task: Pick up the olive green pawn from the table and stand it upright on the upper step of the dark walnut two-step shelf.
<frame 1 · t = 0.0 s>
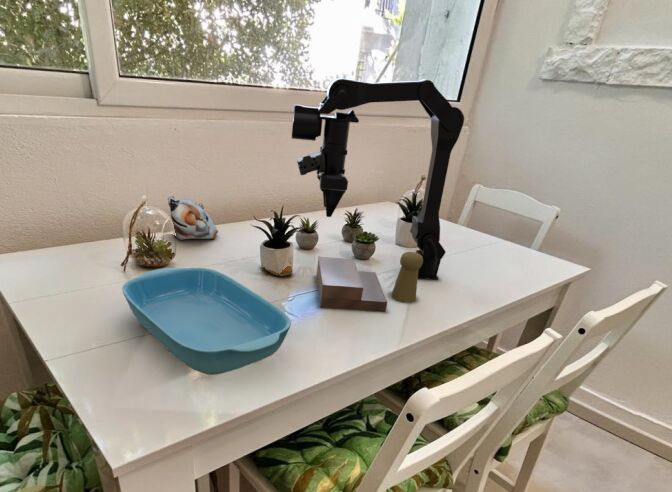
hand: (327, 211, 116), 15 cm above the table, tool pointing down, fingers open, 9 cm apart
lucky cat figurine: (194, 238, 136), on the table
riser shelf: (348, 293, 112), on the table
casserole dish: (205, 335, 90), on the table
pastry: (277, 270, 120), on the table
olive green pawn: (403, 298, 113), on the table
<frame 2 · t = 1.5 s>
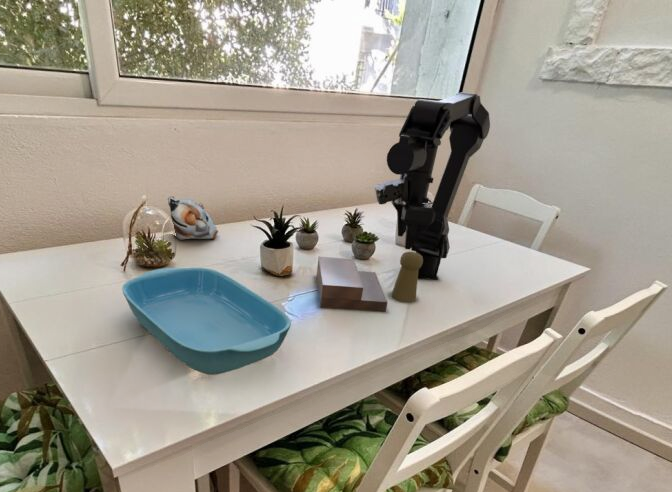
hand: (403, 242, 107), 13 cm above the table, tool pointing down, fingers open, 9 cm apart
nothing on the table moved.
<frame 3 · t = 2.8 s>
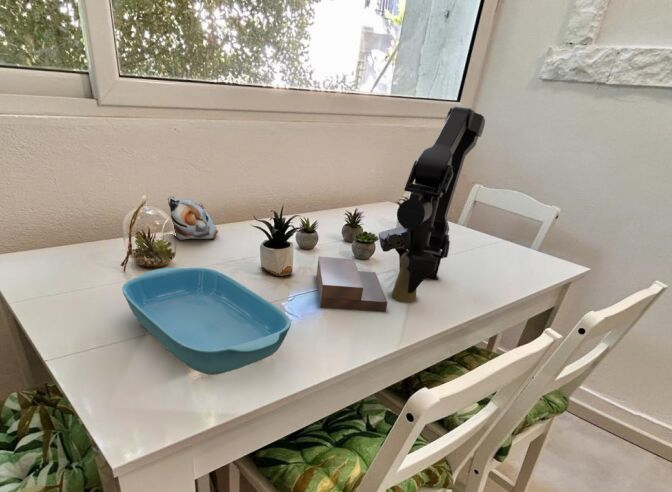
hand: (405, 285, 111), 3 cm above the table, tool pointing down
olive green pawn: (403, 298, 113), on the table, touching gripper
everything else where it was.
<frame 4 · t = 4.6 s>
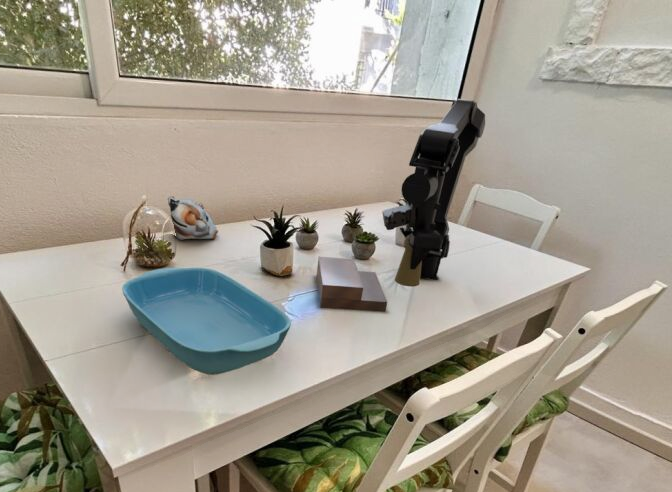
hand: (410, 265, 108), 8 cm above the table, tool pointing down, fingers closed on olive green pawn, 4 cm apart
olive green pawn: (407, 282, 110), point 4 cm above the table, touching gripper
everything else where it was.
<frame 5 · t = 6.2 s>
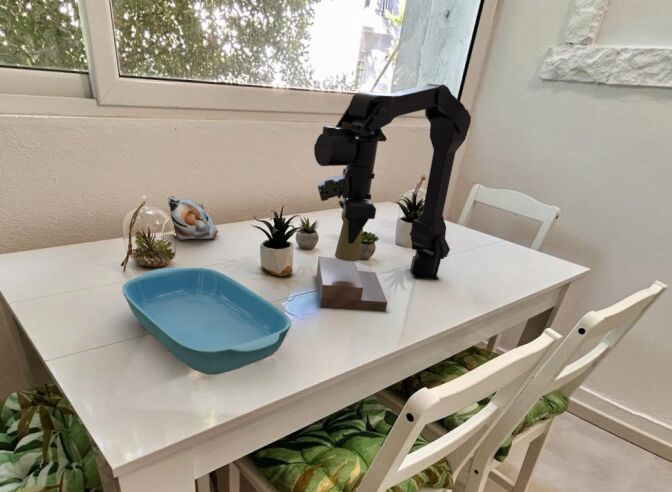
hand: (349, 239, 104), 13 cm above the table, tool pointing down, fingers closed on olive green pawn, 4 cm apart
olive green pawn: (347, 257, 106), point 9 cm above the table, touching gripper
everything else where it was.
when the fingers open (9 cm above the table, at t = 7.8 s): olive green pawn stays where it is, resting on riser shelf.
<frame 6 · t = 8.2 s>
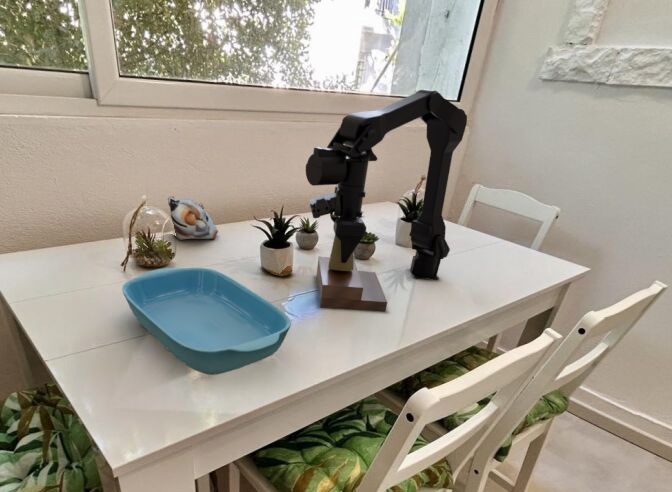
hand: (341, 255, 106), 9 cm above the table, tool pointing down, fingers open, 9 cm apart
olive green pawn: (340, 269, 108), point 6 cm above the table, touching gripper, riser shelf
everything else where it was.
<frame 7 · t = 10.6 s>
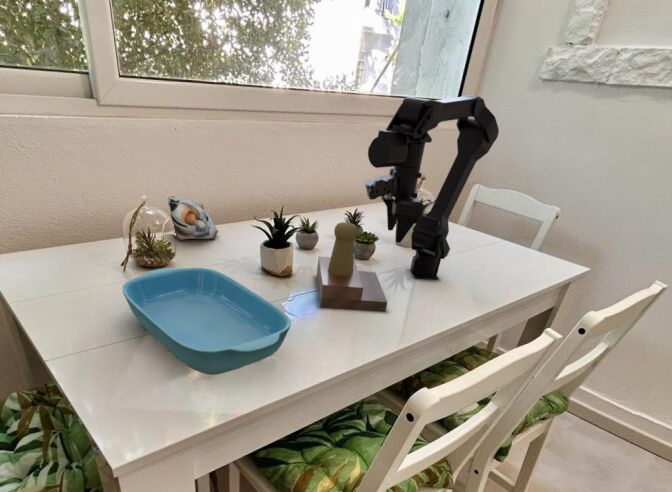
hand: (393, 236, 110), 13 cm above the table, tool pointing down, fingers open, 9 cm apart
olive green pawn: (340, 271, 109), point 5 cm above the table, touching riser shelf
everything else where it was.
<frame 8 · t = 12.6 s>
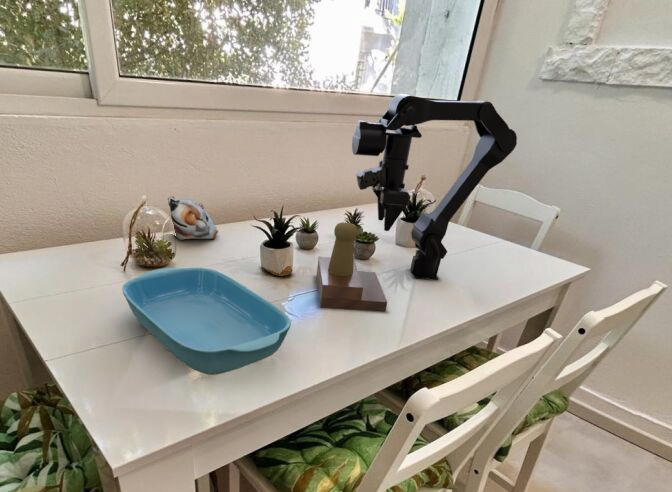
hand: (383, 225, 116), 13 cm above the table, tool pointing down, fingers open, 9 cm apart
nothing on the table moved.
at the end: olive green pawn inside the target area on the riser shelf (0.7 cm from its centre), point 5.3 cm above the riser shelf's base; olive green pawn tilted 0°; the gripper is holding nothing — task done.
